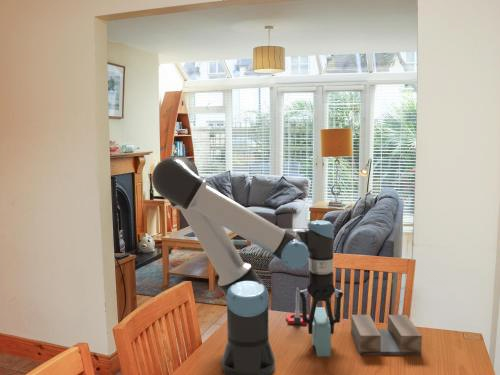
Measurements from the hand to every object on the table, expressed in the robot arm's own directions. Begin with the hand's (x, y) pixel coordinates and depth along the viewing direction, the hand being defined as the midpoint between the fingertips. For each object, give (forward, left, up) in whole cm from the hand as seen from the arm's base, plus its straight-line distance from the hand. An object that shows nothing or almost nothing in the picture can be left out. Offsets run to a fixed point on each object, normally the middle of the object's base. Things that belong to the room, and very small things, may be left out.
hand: (320, 343), depth 150 cm
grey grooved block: (+20, +1, 0) cm, 20 cm away
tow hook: (-6, +19, -1) cm, 20 cm away
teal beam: (0, 0, 0) cm, 0 cm away
